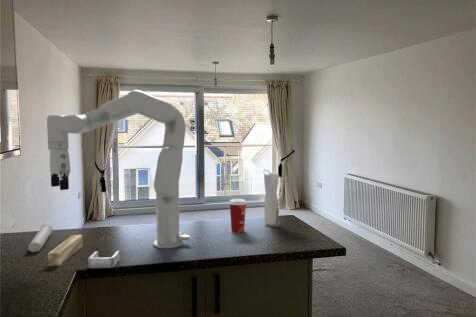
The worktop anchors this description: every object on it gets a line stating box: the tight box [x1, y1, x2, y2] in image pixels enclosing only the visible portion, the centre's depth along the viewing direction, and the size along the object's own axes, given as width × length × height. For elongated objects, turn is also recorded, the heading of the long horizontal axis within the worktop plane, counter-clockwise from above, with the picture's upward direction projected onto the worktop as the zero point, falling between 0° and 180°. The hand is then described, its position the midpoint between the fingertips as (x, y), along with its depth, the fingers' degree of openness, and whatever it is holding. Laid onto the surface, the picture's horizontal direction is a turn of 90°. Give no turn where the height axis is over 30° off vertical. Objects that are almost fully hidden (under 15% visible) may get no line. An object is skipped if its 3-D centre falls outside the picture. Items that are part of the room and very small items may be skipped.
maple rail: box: [47, 234, 84, 267], centre depth 149 cm, size 4×22×5 cm, turn 1°
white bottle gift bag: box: [263, 169, 281, 228], centre depth 189 cm, size 8×8×28 cm
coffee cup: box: [228, 198, 247, 234], centre depth 179 cm, size 8×8×15 cm
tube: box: [27, 224, 53, 253], centre depth 162 cm, size 5×5×25 cm
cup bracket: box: [87, 250, 121, 269], centre depth 139 cm, size 9×8×4 cm
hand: (59, 187), depth 153 cm, fingers open, 9 cm apart
